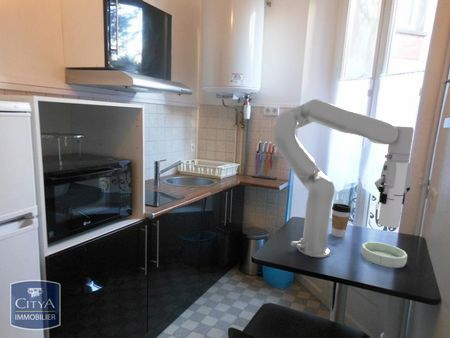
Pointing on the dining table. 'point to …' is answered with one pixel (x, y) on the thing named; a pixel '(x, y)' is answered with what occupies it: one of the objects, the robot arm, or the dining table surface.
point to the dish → (384, 254)
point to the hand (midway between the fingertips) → (391, 203)
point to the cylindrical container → (394, 199)
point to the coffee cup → (340, 219)
